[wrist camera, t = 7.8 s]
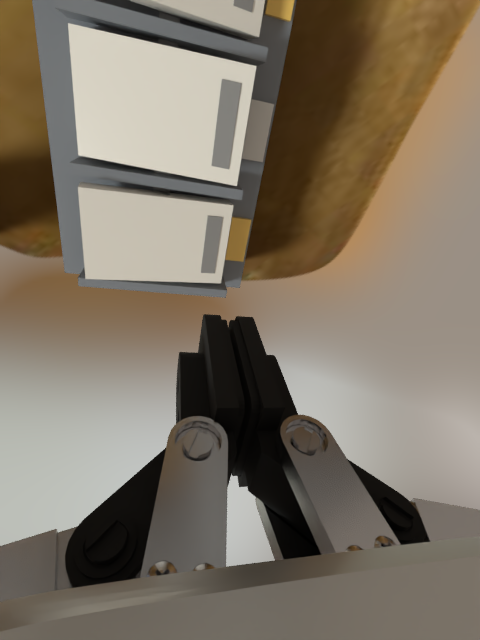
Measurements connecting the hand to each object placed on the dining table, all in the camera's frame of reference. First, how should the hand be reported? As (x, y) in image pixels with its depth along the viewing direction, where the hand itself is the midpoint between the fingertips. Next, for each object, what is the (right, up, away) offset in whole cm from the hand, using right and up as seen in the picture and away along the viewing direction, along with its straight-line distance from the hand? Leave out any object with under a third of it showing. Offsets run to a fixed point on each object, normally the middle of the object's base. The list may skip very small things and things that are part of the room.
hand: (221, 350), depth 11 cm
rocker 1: (-3, +12, +6) cm, 14 cm away
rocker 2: (-5, +6, +10) cm, 13 cm away
